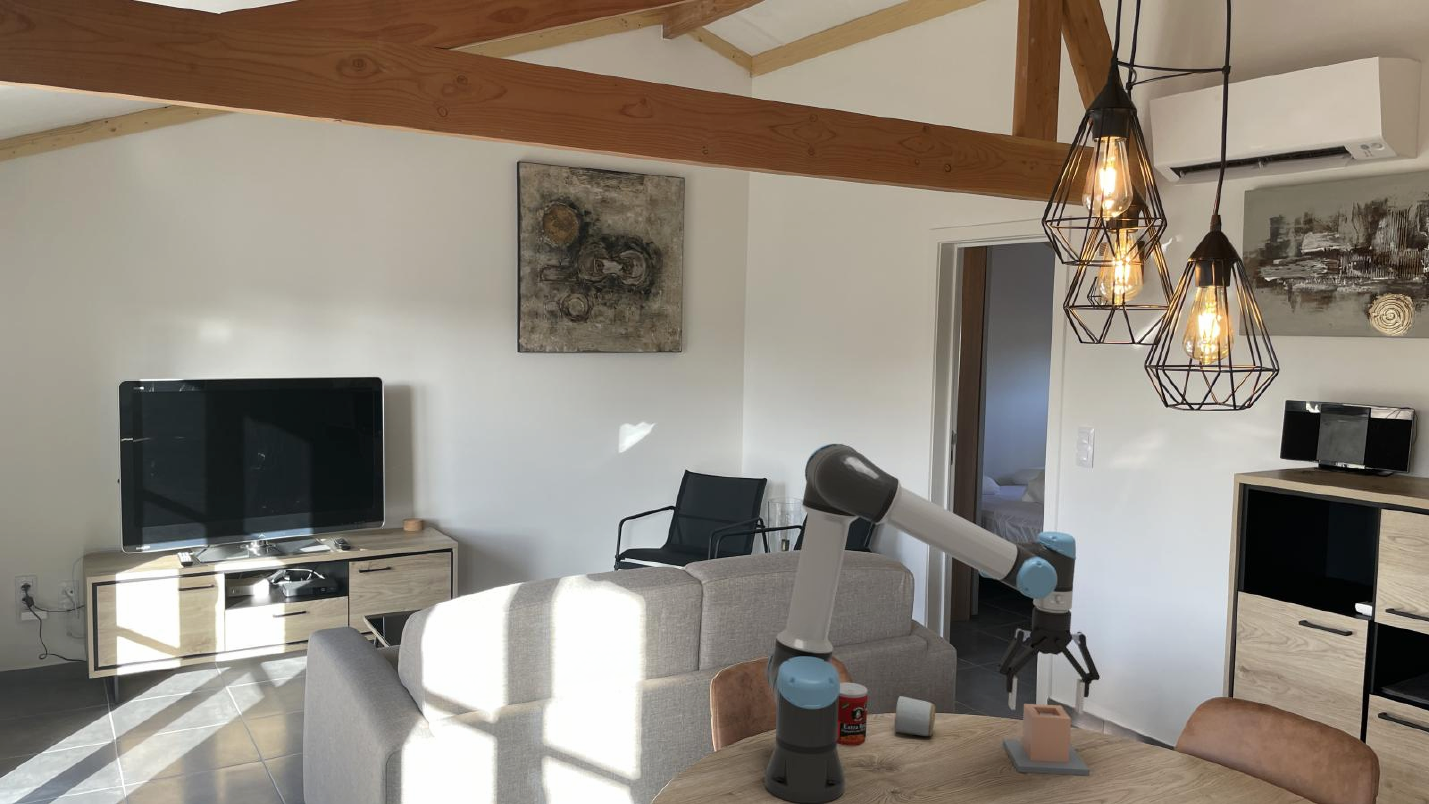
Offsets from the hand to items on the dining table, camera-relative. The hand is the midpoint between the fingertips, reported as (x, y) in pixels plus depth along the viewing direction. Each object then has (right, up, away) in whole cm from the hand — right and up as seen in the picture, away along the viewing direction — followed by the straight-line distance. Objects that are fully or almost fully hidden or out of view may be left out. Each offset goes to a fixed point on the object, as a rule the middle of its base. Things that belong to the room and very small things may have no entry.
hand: (1045, 709), depth 212 cm
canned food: (-40, -9, +9) cm, 41 cm away
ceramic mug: (-24, -9, +14) cm, 30 cm away
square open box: (0, -9, +1) cm, 9 cm away
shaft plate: (0, -10, +1) cm, 11 cm away
